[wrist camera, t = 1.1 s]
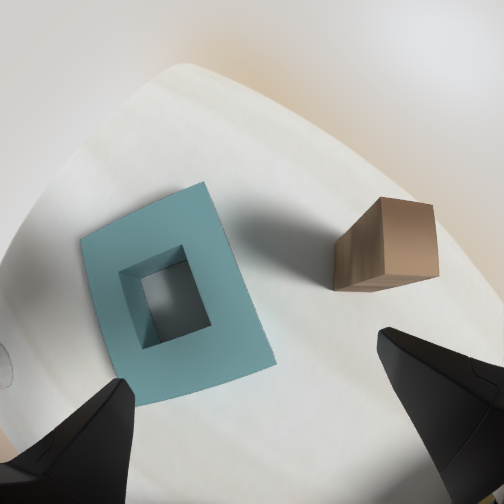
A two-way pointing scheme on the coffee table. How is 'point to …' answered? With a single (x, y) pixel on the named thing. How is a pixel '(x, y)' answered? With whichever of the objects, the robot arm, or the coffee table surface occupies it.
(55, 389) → the coffee table surface
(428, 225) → the square peg
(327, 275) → the coffee table surface
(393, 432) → the coffee table surface
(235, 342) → the teal square hole block
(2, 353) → the coffee cup
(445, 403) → the robot arm
